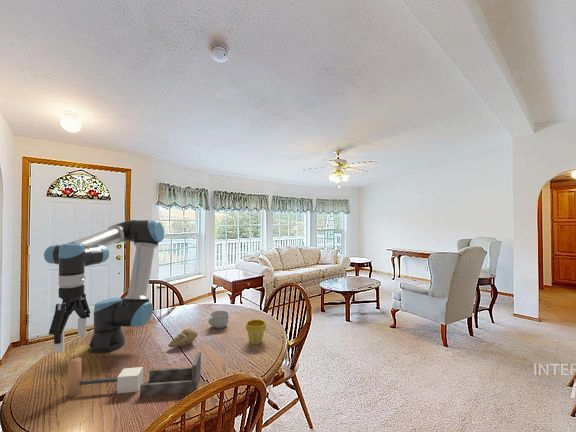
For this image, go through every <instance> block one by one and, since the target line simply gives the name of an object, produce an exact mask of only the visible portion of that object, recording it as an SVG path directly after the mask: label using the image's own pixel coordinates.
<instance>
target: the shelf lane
mask: <svg viewBox="0 0 576 432" xmlns="http://www.w3.org/2000/svg"><path fill="white" fill-rule="evenodd" d="M201 359H202V352H201V351H196V354H195V356H194V359H193V363H192V364H191V367H190V366H189V367H187V366H186V367H173V368H160V369H158V368H157V369H155V368H154V369H150V370H149V371H148V373H149V374H148V381H149V382H148V383H147V382H146V383H142V384H141V385H140V388H139V397H151V396H163V395H164V396H165V395H176V394H189V393H190V394H191V393H194V392H193V391H195V390H196V391H197V390H198V387H199V383H200V380H201V369H202V367H201V365H202V363H201V362H202V360H201ZM185 379H186V380H185ZM187 379H189V380H187ZM190 379H191V380H190ZM172 380H173V381H172ZM174 380H176V381H174ZM157 381H162V382H157Z"/></svg>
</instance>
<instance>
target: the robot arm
mask: <svg viewBox="0 0 576 432" xmlns="http://www.w3.org/2000/svg"><path fill="white" fill-rule="evenodd" d="M164 237H165V230H164V226H163V224H162V223H161V222H160V221H158V220H152V219H149V220H148V219H147V220H146V219H145V220H144V219H143V220H142V219H141V220H140V219H139V220H136V219H131V220H126V221H122V222H119V223H116V224H113V225H110V226H108V227H107V229H105V230H102V231H99V232H96V233H93V234H91V235H87V236H86V237H82V238H79V239H76V240H73V241H71V242H67V243H62V244H61V245H60V244H54V245H53V244H52V245H50V246H48V247H47V248H46V249H45V250H44V253H43V256H44V261H46V262H47V263H48V264H55V265H58V298H59V299H61V300H62V302H61V303H56V304H55V308H54V314H53V318H52V321H51V325H50V328H49V331H48V335H49V336H51V335H53V354H55V353H64V352H65V332H64V330H65V328H66V325H67V322H68V319H69V317H70V315H72V314H73V312H75V314H76V315H77V316H78V317H79V318H77V336H79V337H80V336H87V329H88V328H87V319H88V318H90V316H91V315H90V314H91V311H90V310H91V309H90V306H89V304H88V300H87V297H86V296H87V293H85V285H84V283H85V278H86V276H85V268H86V267H88V266H90V267H91V266H93V265H94V266H95V265H100V264H102V263H104V262H106V261H108V259H109V257H110V251H109V248H108V246H110V245H112V244H120V243H125V242H133V245H134V246H135V253H134V259H133V264H132V270H131V276H130V281H129V285H128V286H129V287H128V293H127V295H126V296H124V297H123V299H122V297H118V296H117V297H110V298H106V299H101V300H100V301H97V302H96V303H95V304H94V308H93V309H94V310H93V334H92V336H91V340H90V342H89V344H88V345H89V347H88V351H89V352H91V353H94V354H95V353H96V354H99V353H108V352H112V351H115V350H118V349H120V348H121V347H123V346H124V345H125V343H126V339H125V335H124V331H123V330H122V327H132V328H136V327H137V328H140V327H143V326H146V324H148V322H149V321H150V320H151V317H152V314H153V311H154V307H153V304H152V302H150V297H149V296H148V292H149V291H148V289H149V283H150V278H151V271H152V265H153V261H154V260H153V258H154V253H155V252H154V251H155V249H156V248H157V247H158V246H159V243H161V242H163V240H164Z"/></svg>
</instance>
